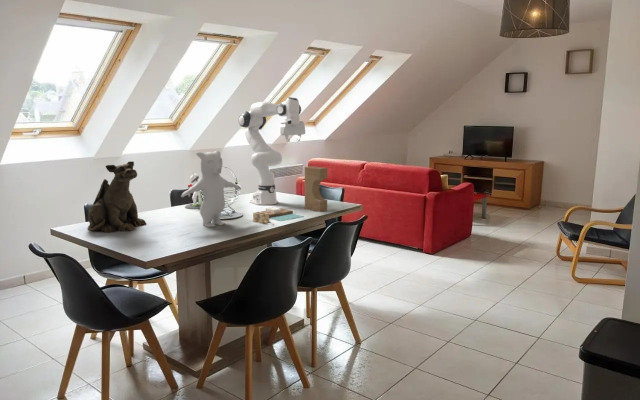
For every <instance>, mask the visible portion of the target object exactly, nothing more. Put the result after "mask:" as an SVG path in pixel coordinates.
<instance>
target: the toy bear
mask: <svg viewBox="0 0 640 400" xmlns="http://www.w3.org/2000/svg"><path fill="white" fill-rule="evenodd" d="M195 155H196V156H197V157H199V158H200V172H201V176H200V178H198V180H197V182H196V183H195V184H194V183H193V184H194V186H192V187H190V188H189V189H188V188H187V190H185V191H183V192H182V193H181V195H180V197H181V198H184V197H186V196H188V198H190V197H191V196H192V195H191V194H194V192H196V191H200V190H201V195H202V201H203V202H202V204H201V207H200V209H199V214H200V217H201V218H202V220H203V221H202V226H204V227H205V228H212V227H213V228H215V227H216V226H224V225H226V222H225V221H222V220H221V215H222V212H223V211H224V210H225V207H226V201H225V191H224V190H225V188H234V189H235V190H237V191H239V190H242V187H241V186H240V185H238V184H236V183H233V182H232V181H229V180H227V179H226V178H224V177H223V176H221V174H222V169H223V158H222V157H221V156H222V155H221V152H220V150H215V151H213V152H212V151H207V152H202V151H196V152H195Z"/></svg>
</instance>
